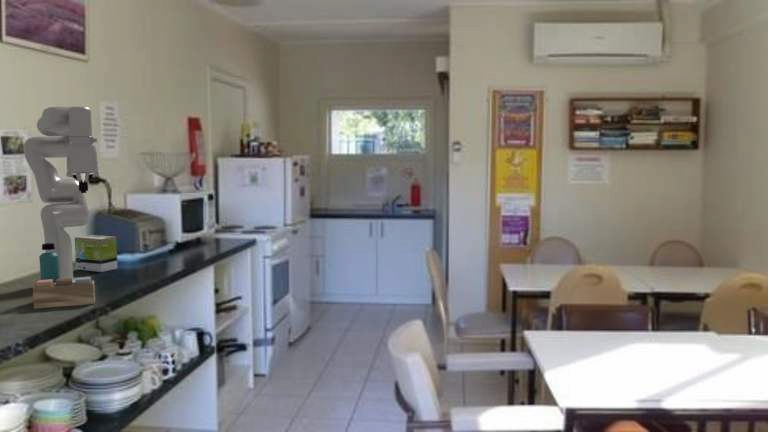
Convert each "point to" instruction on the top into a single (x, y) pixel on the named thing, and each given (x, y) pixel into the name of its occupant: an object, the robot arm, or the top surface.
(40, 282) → the salmon pink cube
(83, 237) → the tea box
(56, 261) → the beverage bottle
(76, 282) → the grey cube
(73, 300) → the wooden compartment box
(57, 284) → the brown cube
